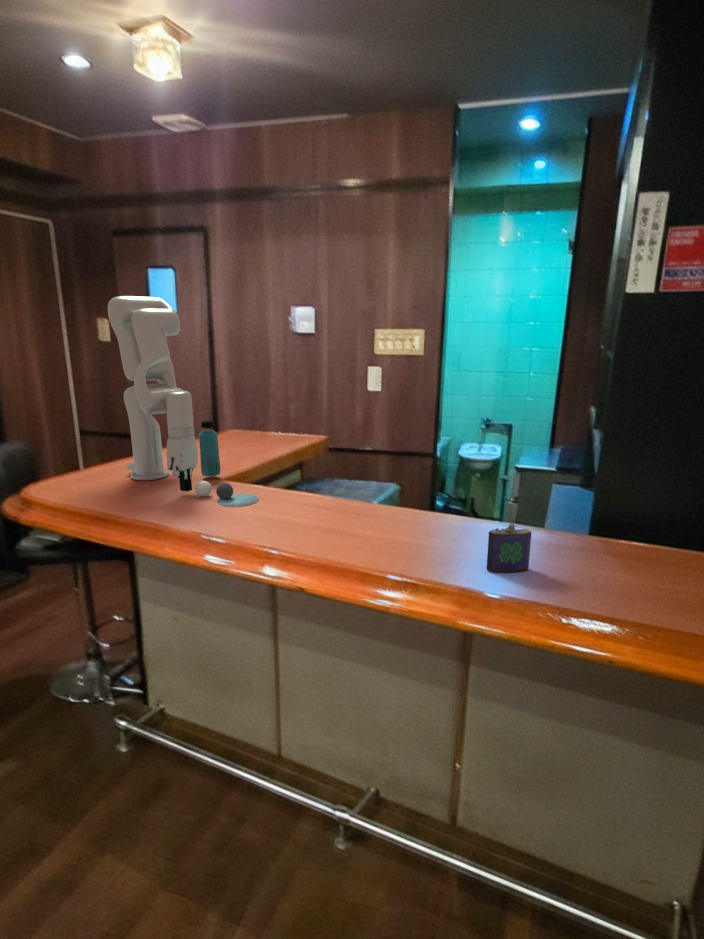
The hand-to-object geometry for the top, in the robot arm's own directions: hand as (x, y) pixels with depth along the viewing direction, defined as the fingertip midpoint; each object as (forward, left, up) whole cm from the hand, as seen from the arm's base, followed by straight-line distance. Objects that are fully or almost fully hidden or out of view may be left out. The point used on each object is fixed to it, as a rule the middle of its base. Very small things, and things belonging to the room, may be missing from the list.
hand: (186, 490), depth 166 cm
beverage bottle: (-3, +19, -2) cm, 19 cm away
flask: (+97, -25, -2) cm, 100 cm away
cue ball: (+6, 0, +1) cm, 6 cm away
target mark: (+18, 0, -2) cm, 18 cm away
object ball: (+14, 0, +1) cm, 14 cm away
